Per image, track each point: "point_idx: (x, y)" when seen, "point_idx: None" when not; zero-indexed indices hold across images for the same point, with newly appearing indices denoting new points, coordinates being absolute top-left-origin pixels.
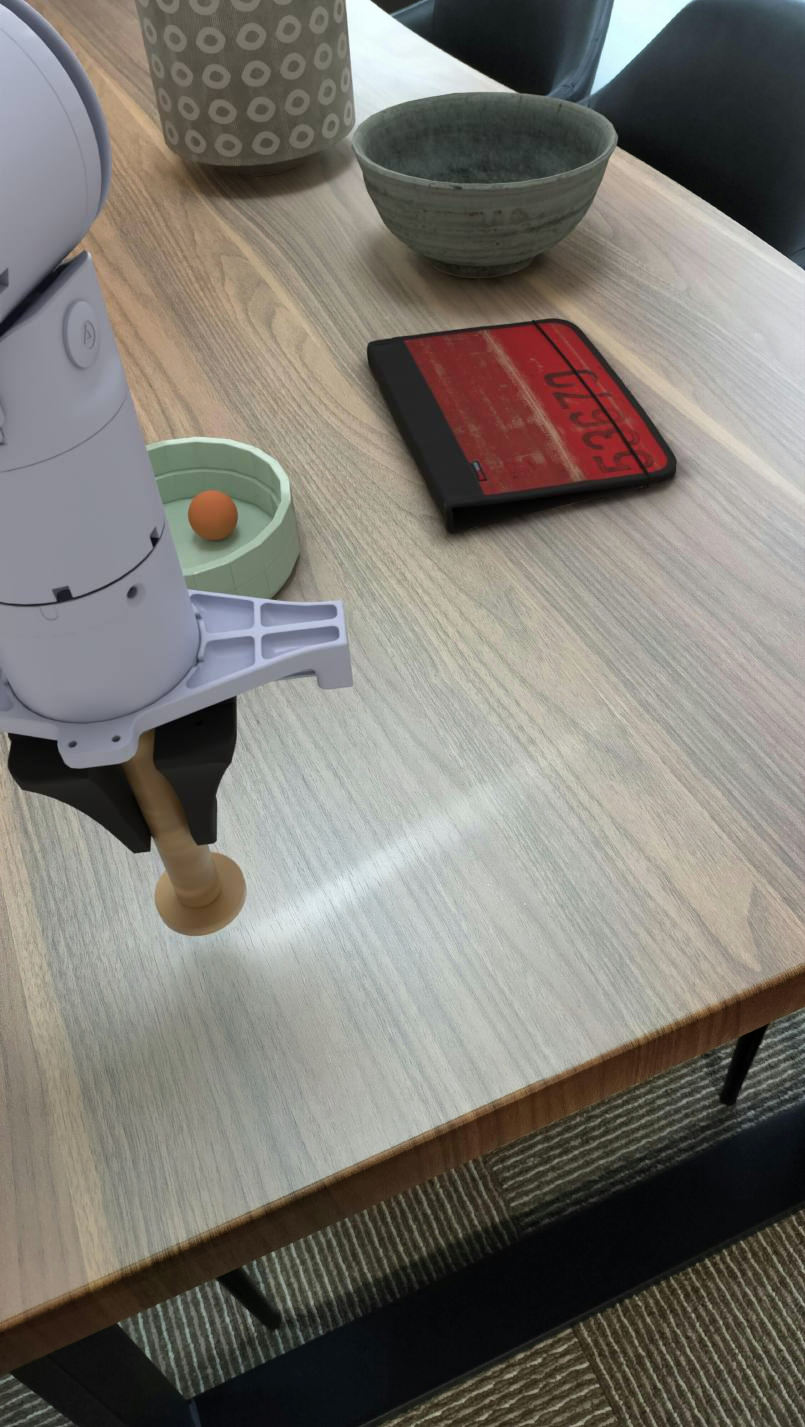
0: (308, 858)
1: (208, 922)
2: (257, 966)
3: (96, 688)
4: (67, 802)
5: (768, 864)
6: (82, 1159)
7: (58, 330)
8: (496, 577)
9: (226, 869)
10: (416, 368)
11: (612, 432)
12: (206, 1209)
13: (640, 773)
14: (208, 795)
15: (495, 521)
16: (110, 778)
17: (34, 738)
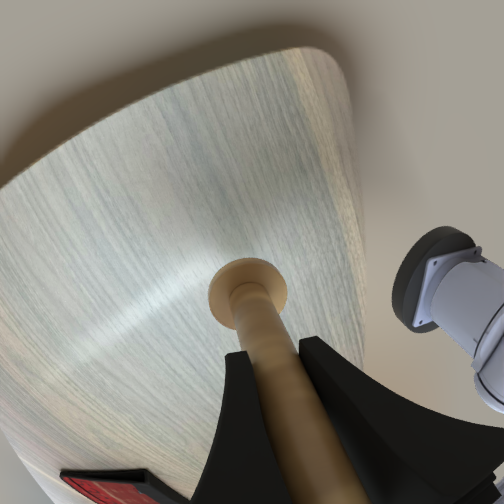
0: (182, 320)
1: (237, 269)
2: (207, 244)
3: None
4: (427, 412)
5: None
6: (313, 115)
7: None
8: (116, 453)
9: (226, 317)
10: None
11: (89, 491)
12: (229, 77)
13: (13, 358)
14: (222, 448)
15: (125, 472)
16: (369, 451)
17: (473, 488)
